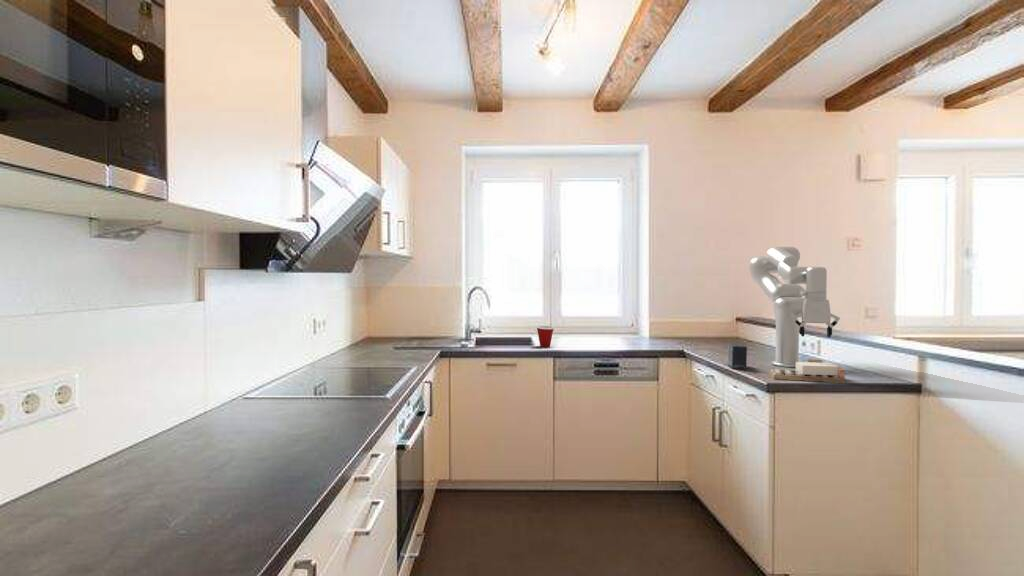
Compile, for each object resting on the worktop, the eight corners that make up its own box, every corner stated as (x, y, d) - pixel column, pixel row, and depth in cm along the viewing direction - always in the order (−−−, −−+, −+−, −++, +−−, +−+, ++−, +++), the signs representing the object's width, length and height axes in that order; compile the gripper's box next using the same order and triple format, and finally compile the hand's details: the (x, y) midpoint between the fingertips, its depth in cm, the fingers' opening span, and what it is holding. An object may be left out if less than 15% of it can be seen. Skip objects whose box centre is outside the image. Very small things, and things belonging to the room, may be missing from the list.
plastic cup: (544, 348, 296) (544, 327, 295) (532, 346, 304) (532, 326, 304) (558, 346, 303) (558, 326, 302) (545, 344, 311) (545, 324, 311)
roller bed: (770, 373, 221) (770, 361, 221) (837, 377, 212) (837, 365, 212) (773, 379, 209) (773, 366, 209) (845, 383, 201) (845, 370, 200)
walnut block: (807, 373, 222) (807, 359, 221) (820, 373, 220) (820, 359, 220) (809, 375, 217) (809, 361, 217) (823, 375, 215) (823, 361, 215)
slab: (795, 370, 215) (795, 361, 215) (829, 371, 213) (829, 362, 212) (802, 374, 207) (802, 365, 207) (838, 375, 204) (838, 366, 204)
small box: (747, 369, 230) (747, 346, 229) (732, 369, 231) (732, 345, 231) (741, 365, 240) (742, 343, 240) (727, 364, 241) (727, 342, 241)
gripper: (794, 296, 217) (793, 336, 217) (842, 296, 211) (841, 338, 211) (791, 295, 224) (791, 334, 224) (837, 296, 218) (837, 336, 218)
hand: (815, 336), depth 218 cm, fingers open, 9 cm apart
